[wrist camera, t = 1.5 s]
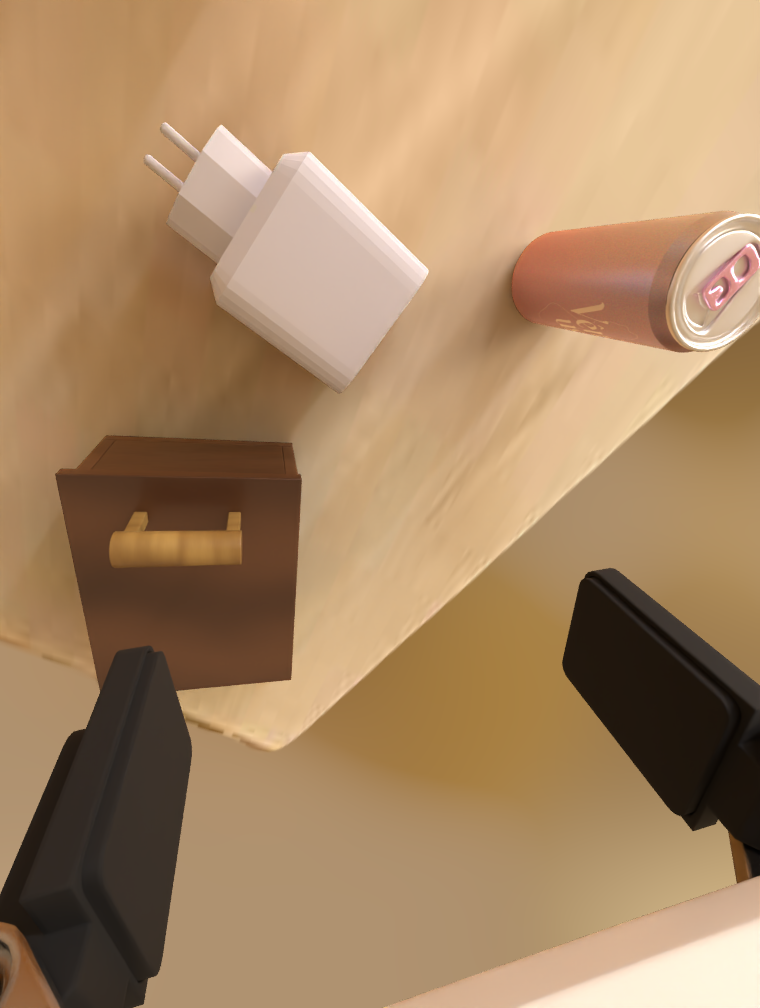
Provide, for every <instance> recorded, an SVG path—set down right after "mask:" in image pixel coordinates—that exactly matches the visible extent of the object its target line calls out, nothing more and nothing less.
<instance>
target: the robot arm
mask: <svg viewBox="0 0 760 1008" xmlns="http://www.w3.org/2000/svg"><path fill="white" fill-rule="evenodd" d="M562 664H563V670H564V672H565V674H566V676H567V678H568V679H569V680H570V682H571V683H572V684H573V685H574V687H575V688H576V689H577V690H578V692H579V693H580V694H581V696H582V697H583V698H584V700H585V701H586V702H587V703H588V705H589V706H590V707H591V709H592V710H593V711H594V713H595V714H596V715H597V716H598V718H599V719H600V720H601V722H602V723H603V724H604V725H605V727H606V728H607V729H608V731H609V732H610V733H611V734H612V736H613V737H614V738H615V739H616V741H617V742H618V743H619V744H620V746H621V747H622V749H623V750H624V751H625V753H626V754H627V755H628V756H629V757H630V759H631V760H632V761H633V763H634V764H635V765H636V767H637V768H638V769H639V771H640V772H641V773H642V774H643V776H644V777H645V778H646V779H647V781H648V782H649V784H650V785H651V786H652V787H653V788H654V790H655V791H656V792H657V794H658V795H659V796H660V798H661V799H662V800H663V801H664V803H665V804H666V805H667V807H668V808H669V809H670V810H671V811H672V812H673V813H675V814H677V815H679V816H681V817H682V818H683V819H684V820H685V822H686V823H687V824H688V826H689V827H690V828H691V829H692V831H695V830H699V829H701V828H705V827H708V826H711V825H714V824H716V822H717V820H718V819H719V820H720V822H721V823H722V824H723V825H724V826H725V827H726V829H727V830H728V833H729V839H730V845H731V851H732V857H733V863H734V869H735V875H736V881H737V884H734V885H731V886H728V887H726V888H722V889H720V890H717V891H714V892H711V893H708V894H705V895H702V896H699V897H696V898H693V899H691V900H687V901H685V902H682V903H679V904H676V905H673V906H670V907H667V908H664V909H661V910H658V911H655V912H653V913H650V914H647V915H644V916H641V917H638V918H635V919H632V920H630V921H627V922H624V923H621V924H618V925H615V926H612V927H610V928H607V929H604V930H601V931H598V932H595V933H593V934H590V935H587V936H584V937H581V938H578V939H575V940H572V941H570V942H567V943H564V944H561V945H558V946H555V947H552V948H549V949H547V950H544V951H541V952H538V953H536V954H532V955H530V956H527V957H524V958H521V959H519V960H515V961H512V962H510V963H507V964H504V965H501V966H498V967H495V968H493V969H490V970H487V971H484V972H481V973H478V974H476V975H473V976H470V977H467V978H464V979H462V980H459V981H456V982H453V983H450V984H448V985H445V986H442V987H439V988H436V989H433V990H431V991H428V992H425V993H422V994H419V995H417V996H414V997H411V998H408V999H405V1000H403V1001H400V1002H397V1003H394V1004H391V1005H389V1006H386V1007H383V1008H760V685H759V684H757V683H756V682H755V681H754V680H752V679H751V678H750V677H748V676H747V675H746V674H745V673H744V672H742V671H741V670H740V669H739V668H737V667H736V666H735V665H734V664H733V663H731V662H730V661H729V660H728V659H726V658H725V657H724V656H723V655H721V654H720V653H719V652H718V651H716V650H715V649H714V648H713V647H712V646H710V645H709V644H708V643H706V642H705V641H704V640H703V639H702V638H700V637H699V636H698V635H697V634H695V633H694V632H693V631H692V630H691V629H689V628H688V627H687V626H686V625H684V624H683V623H682V622H681V621H679V620H678V619H677V618H676V617H674V616H673V615H672V614H671V613H669V612H668V611H667V610H666V609H665V608H663V607H662V606H661V605H660V604H658V603H657V602H656V601H655V600H653V599H652V598H651V597H650V596H648V595H647V594H646V593H645V592H644V591H642V590H641V589H640V588H639V587H637V586H636V585H635V584H634V583H632V582H631V581H630V580H629V579H627V578H626V577H625V576H624V575H623V574H621V573H620V572H619V571H617V570H616V569H613V568H608V569H602V570H596V571H591V572H588V573H587V574H586V575H585V578H584V579H583V580H581V582H580V585H579V589H578V593H577V598H576V602H575V607H574V611H573V616H572V620H571V625H570V629H569V634H568V638H567V643H566V647H565V652H564V656H563V662H562ZM191 757H192V746H191V739H190V736H189V732H188V729H187V726H186V723H185V719H184V716H183V713H182V710H181V706H180V703H179V700H178V697H177V694H176V690H175V687H174V684H173V681H172V677H171V674H170V671H169V668H168V664H167V661H166V658H165V655H164V653H163V652H162V651H158V652H154V650H153V648H152V647H151V646H149V645H148V646H142V647H136V648H130V649H124V650H119V651H118V652H116V654H115V656H114V659H113V661H112V664H111V666H110V669H109V671H108V674H107V676H106V679H105V681H104V684H103V687H102V689H101V692H100V694H99V697H98V699H97V702H96V704H95V707H94V710H93V712H92V715H91V717H90V720H89V722H88V725H87V727H86V729H83V730H78V731H75V732H73V733H72V734H71V735H70V736H69V737H68V739H67V740H66V742H65V744H64V746H63V748H62V751H61V753H60V755H59V758H58V760H57V762H56V765H55V767H54V769H53V772H52V774H51V776H50V779H49V781H48V783H47V786H46V788H45V791H44V793H43V795H42V798H41V800H40V802H39V805H38V807H37V809H36V812H35V814H34V816H33V819H32V821H31V824H30V826H29V828H28V831H27V833H26V835H25V837H24V840H23V842H22V845H21V847H20V849H19V852H18V854H17V856H16V859H15V861H14V864H13V866H12V868H11V870H10V873H9V875H8V877H7V880H6V882H5V884H4V887H3V889H2V892H1V894H0V1008H133V1007H136V1006H139V1005H143V1004H144V999H145V993H146V987H147V981H148V978H151V977H154V976H156V975H157V974H158V972H159V970H160V966H161V961H162V957H163V950H164V943H165V935H166V929H167V922H168V916H169V909H170V902H171V895H172V888H173V881H174V874H175V868H176V861H177V854H178V846H179V840H180V833H181V827H182V819H183V812H184V806H185V799H186V792H187V785H188V778H189V772H190V765H191Z"/></svg>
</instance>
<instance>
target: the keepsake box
mask: <svg viewBox="0 0 760 1008" xmlns="http://www.w3.org/2000/svg"><path fill="white" fill-rule="evenodd" d="M76 469H97V470H140V471H183V472H226V473H268V474H298V473H297V468H296V462H295V457H294V451H293V446H292V443H279V442H254V441H230V440H206V439H182V438H157V437H133V436H109V435H107V436H105V437H104V439H103V440H102V441H101V442H100V443H99V444H98V445H97V446H96V447H95V449H94V450H93V451H92V452H91V453H90V454H89V455H88V456H87V457H86V458H85V460H84V461H83V462H82V463H81V464H80V465H79V466H78V467H77V468H76Z"/></svg>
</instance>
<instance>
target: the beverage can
mask: <svg viewBox="0 0 760 1008" xmlns="http://www.w3.org/2000/svg"><path fill="white" fill-rule="evenodd" d="M512 296H513V300H514V303H515V306H516V308H517V309H518V311H519V312H520V314H521V315H522V316H523V317H524V318H526V319H527V320H529V321H531V322H533V323H537V324H541V325H546V326H551V327H556V328H561V329H566V330H571V331H576V332H581V333H586V334H591V335H596V336H601V337H606V338H611V339H615V340H620V341H625V342H630V343H635V344H640V345H645V346H650V347H655V348H660V349H665V350H670V351H675V352H692V351H697V352H707V351H713V350H716V349H719V348H722V347H724V346H726V345H728V344H730V343H731V342H733V341H735V340H736V339H737V338H739V337H740V336H741V335H742V334H744V333H745V332H746V331H747V330H748V329H749V328H750V327H751V326H752V324H753V323H754V322H755V321H756V320H757V318H758V317H759V316H760V216H759V215H755V214H740V213H737V212H734V211H719V212H711V213H702V214H694V215H686V216H678V217H670V218H661V219H653V220H645V221H637V222H629V223H621V224H612V225H604V226H596V227H588V228H580V229H571V230H563V231H555V232H549V233H546V234H543V235H541V236H539V237H538V238H536V239H535V240H534V241H532V242H531V243H530V244H529V245H528V246H527V247H526V249H525V250H524V251H523V253H522V254H521V256H520V257H519V259H518V261H517V264H516V266H515V269H514V273H513V277H512Z"/></svg>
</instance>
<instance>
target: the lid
mask: <svg viewBox="0 0 760 1008" xmlns="http://www.w3.org/2000/svg"><path fill="white" fill-rule="evenodd" d="M55 475H56V480H57V485H58V490H59V495H60V500H61V504H62V509H63V514H64V519H65V524H66V529H67V533H68V538H69V543H70V548H71V553H72V558H73V562H74V567H75V572H76V577H77V582H78V587H79V591H80V596H81V601H82V606H83V611H84V616H85V620H86V625H87V630H88V635H89V640H90V645H91V649H92V654H93V659H94V664H95V669H96V674H97V678H98V683H99V688H100V692H101V689H102V687H103V684H104V681H105V679H106V676H107V674H108V671H109V669H110V666H111V664H112V661H113V659H114V656H115V654H116V652H118V651H119V650H124V649H130V648H136V647H142V646H148V645H149V646H151V647H152V648H153V650H154V652H158V651H162V652H163V653H164V655H165V658H166V661H167V664H168V668H169V671H170V674H171V677H172V681H173V684H174V687H175V690H176V691H178V690H188V689H199V688H209V687H220V686H231V685H241V684H252V683H262V682H273V681H283V680H291V674H292V655H293V636H294V617H295V598H296V579H297V560H298V541H299V522H300V503H301V484H302V479H301V475H300V474H268V473H226V472H183V471H140V470H97V469H60V470H59V471H58V472H57V473H56V474H55Z"/></svg>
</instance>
